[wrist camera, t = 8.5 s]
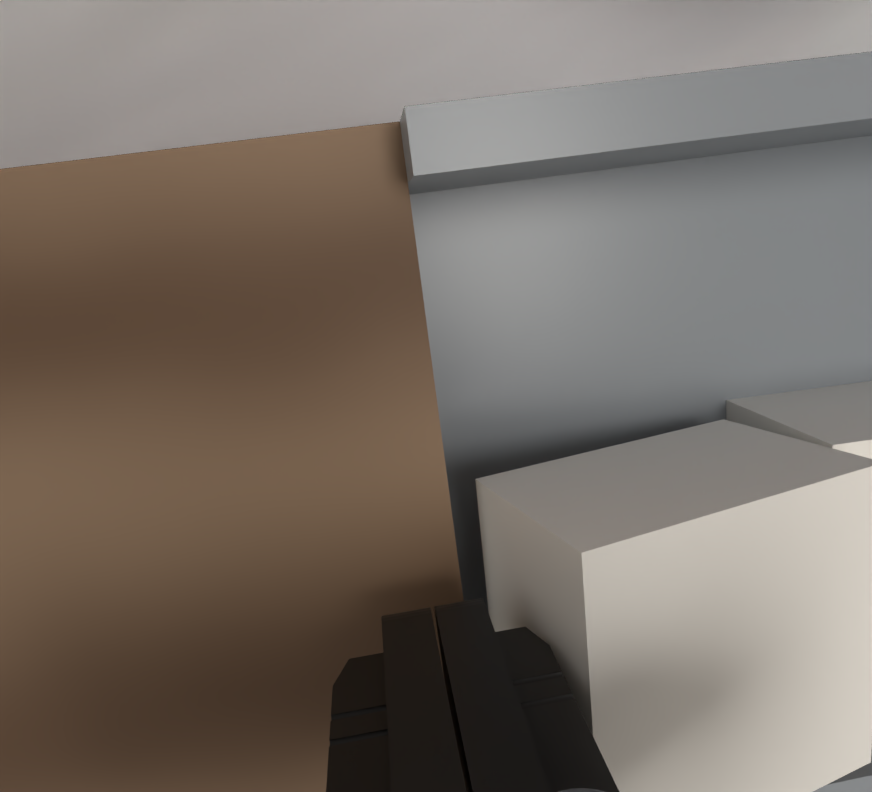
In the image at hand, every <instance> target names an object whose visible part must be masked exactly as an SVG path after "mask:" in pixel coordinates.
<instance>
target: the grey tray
mask: <svg viewBox="0 0 872 792" xmlns="http://www.w3.org/2000/svg"><path fill="white" fill-rule="evenodd" d="M400 127H401V134H402V142H403V149H404V157H405V164H406V172H407V179H408V187H409V194H410V202H411V209H412V217H413V224H414V232H415V239H416V247H417V254H418V262H419V269H420V277H421V284H422V292H423V299H424V307H425V314H426V322H427V329H428V337H429V344H430V352H431V360H432V367H433V375H434V382H435V390H436V397H437V405H438V412H439V420H440V427H441V435H442V442H443V450H444V457H445V465H446V472H447V480H448V487H449V495H450V502H451V510H452V517H453V525H454V532H455V540H456V547H457V555H458V562H459V570H460V577H461V585H462V592H463V600H464V601H467V600H473V599H479V598H483V600H484V602H485V605H486V607H487V610H488V601H487V591H486V581H485V571H484V561H483V551H482V541H481V531H480V521H479V511H478V501H477V491H476V481H475V479H477V478H481V477H485V476H490V475H494V474H498V473H502V472H506V471H510V470H515V469H519V468H523V467H527V466H531V465H535V464H540V463H544V462H548V461H552V460H556V459H560V458H565V457H569V456H573V455H577V454H581V453H585V452H589V451H594V450H598V449H602V448H606V447H610V446H614V445H619V444H623V443H627V442H631V441H635V440H639V439H644V438H648V437H652V436H656V435H660V434H664V433H668V432H673V431H677V430H681V429H685V428H689V427H693V426H698V425H702V424H706V423H710V422H714V421H718V420H723V419H724V420H726V400H731V399H738V398H746V397H754V396H761V395H769V394H776V393H784V392H791V391H799V390H806V389H814V388H822V387H829V386H837V385H844V384H852V383H859V382H867V381H872V52H864V53H855V54H847V55H838V56H830V57H821V58H813V59H804V60H796V61H787V62H779V63H770V64H761V65H753V66H744V67H736V68H727V69H719V70H710V71H702V72H693V73H685V74H676V75H668V76H659V77H651V78H642V79H634V80H625V81H616V82H608V83H599V84H591V85H582V86H574V87H565V88H557V89H548V90H540V91H531V92H523V93H514V94H506V95H497V96H488V97H480V98H471V99H463V100H454V101H446V102H437V103H429V104H420V105H412V106H405V107H404V110H403V113H402V116H401V119H400ZM488 613H489V611H488ZM813 792H872V750H871V762H870V763H868V764H867V765H865V766H863V767H861V768H859V769H857V770H855V771H853V772H851V773H849V774H847V775H845V776H843V777H841V778H839V779H837V780H835V781H833V782H831V783H829V784H827V785H825V786H823V787H821V788H819V789H817V790H815V791H813Z"/></svg>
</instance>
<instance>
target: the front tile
mask: <svg viewBox="0 0 872 792" xmlns="http://www.w3.org/2000/svg"><path fill="white" fill-rule="evenodd" d="M475 481H476V491H477V501H478V511H479V521H480V531H481V541H482V551H483V561H484V571H485V581H486V591H487V601H488V611H489V616H490V619H491V622H492V625H493V627H494V630H495V632H498V631H503V630H509V629H514V628H520V627H527V628H528V629H529V630H531V631H532V632H533V633H534V634H536V635H537V636H538V637H540V638H541V639H542V640H543V641H545V642H546V643H547V644H549V645H550V647H551V649H552V651H553V653H554V655H555V657H556V660H557V662H558V664H559V666H560V668H561V670H562V674H563V676H565V679H566V681H567V683H568V685H569V687H570V689H571V691H572V694H573V698H574V699H575V700H576V702H577V704H578V706H579V708H580V710H581V712H582V714H583V716H584V718H585V721H586V723H587V725H588V727H589V729H590V731H591V733H592V735H593V737H594V740H595V742H596V744H597V746H598V748H599V750H600V752H601V754H602V756H603V758H604V761H605V763H606V765H607V767H608V769H609V771H610V773H611V775H612V777H613V779H614V782H615V784H616V786H617V788H618V790H619V791H620V792H813V791H815V790H817V789H819V788H821V787H823V786H825V785H827V784H829V783H831V782H833V781H835V780H837V779H839V778H841V777H843V776H845V775H847V774H849V773H851V772H853V771H855V770H857V769H859V768H861V767H863V766H865V765H867V764H868V763H870V762H871V750H872V459H870V458H867V457H863V456H859V455H855V454H852V453H848V452H844V451H840V450H837V449H833V448H829V447H825V446H822V445H818V444H814V443H810V442H807V441H803V440H799V439H796V438H792V437H788V436H784V435H781V434H777V433H773V432H769V431H766V430H762V429H758V428H754V427H751V426H747V425H743V424H739V423H736V422H732V421H728V420H724V419H723V420H718V421H714V422H710V423H706V424H702V425H698V426H693V427H689V428H685V429H681V430H677V431H673V432H668V433H664V434H660V435H656V436H652V437H648V438H644V439H639V440H635V441H631V442H627V443H623V444H619V445H614V446H610V447H606V448H602V449H598V450H594V451H589V452H585V453H581V454H577V455H573V456H569V457H565V458H560V459H556V460H552V461H548V462H544V463H540V464H535V465H531V466H527V467H523V468H519V469H515V470H510V471H506V472H502V473H498V474H494V475H490V476H485V477H481V478H477V479H475Z"/></svg>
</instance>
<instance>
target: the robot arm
mask: <svg viewBox="0 0 872 792" xmlns="http://www.w3.org/2000/svg"><path fill="white" fill-rule="evenodd" d="M434 610H435V618H436V625H437V632H438V639H439V646H440V653H441V659H440V654H439V649H438V644H437V639H436V633H435V628H434V623H433V618H432V613H431V608H430V607H429V608H423V609H418V610H412V611H406V612H401V613H395V614H390V615H384V616H382V617H381V620H382V638H383V653H378V654H373V655H367V656H362V657H356V658H351V659H349V660H348V661H347V663H346V665H345V666H344V668H343V670H342V671H341V673H340V675H339V676H338V678H337V680H336V681H335V683H334V684H333V689H332V705H331V721H330V737H329V741H330V746H329V753H328V769H327V785H326V792H620V791H619V790H618V788H617V786H616V784H615V782H614V779H613V777H612V775H611V773H610V771H609V769H608V767H607V765H606V763H605V761H604V758H603V756H602V754H601V752H600V750H599V748H598V746H597V744H596V742H595V740H594V737H593V735H592V733H591V731H590V729H589V727H588V725H587V723H586V721H585V718H584V716H583V714H582V712H581V710H580V708H579V706H578V704H577V702H576V700H575V699H574V698H573V694H572V691H571V689H570V687H569V685H568V683H567V681H566V679H565V676H563V674H562V670H561V668H560V666H559V664H558V662H557V660H556V657H555V655H554V653H553V651H552V649H551V647H550V645H549V644H547V643H546V642H545V641H543V640H542V639H541V638H540V637H538V636H537V635H536V634H534V633H533V632H532V631H531V630H529V629H528V628H527V627H520V628H514V629H509V630H503V631H498V632H495V630H494V627H493V625H492V622H491V619H490V616H489V613H488V610H487V607H486V605H485V602H484V600H483V598H479V599H473V600H467V601H462V602H456V603H450V604H445V605H439V606H434ZM441 660H442V664H441ZM442 667H443V669H442ZM443 674H444V675H443Z"/></svg>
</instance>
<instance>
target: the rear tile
mask: <svg viewBox="0 0 872 792" xmlns="http://www.w3.org/2000/svg"><path fill="white" fill-rule="evenodd" d="M726 420H728V421H732V422H736V423H739V424H743V425H747V426H751V427H754V428H758V429H762V430H766V431H769V432H773V433H777V434H781V435H784V436H788V437H792V438H796V439H799V440H803V441H807V442H810V443H814V444H818V445H822V446H825V447H829V448H833V449H837V450H840V451H844V452H848V453H852V454H855V455H859V456H863V457H867V458H870V459H872V381H867V382H859V383H852V384H844V385H837V386H829V387H822V388H814V389H806V390H799V391H791V392H784V393H776V394H769V395H761V396H754V397H746V398H738V399H731V400H726Z"/></svg>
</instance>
